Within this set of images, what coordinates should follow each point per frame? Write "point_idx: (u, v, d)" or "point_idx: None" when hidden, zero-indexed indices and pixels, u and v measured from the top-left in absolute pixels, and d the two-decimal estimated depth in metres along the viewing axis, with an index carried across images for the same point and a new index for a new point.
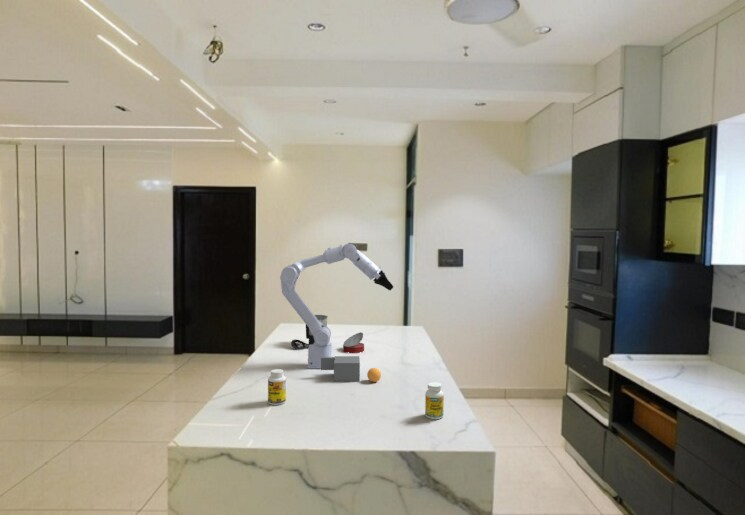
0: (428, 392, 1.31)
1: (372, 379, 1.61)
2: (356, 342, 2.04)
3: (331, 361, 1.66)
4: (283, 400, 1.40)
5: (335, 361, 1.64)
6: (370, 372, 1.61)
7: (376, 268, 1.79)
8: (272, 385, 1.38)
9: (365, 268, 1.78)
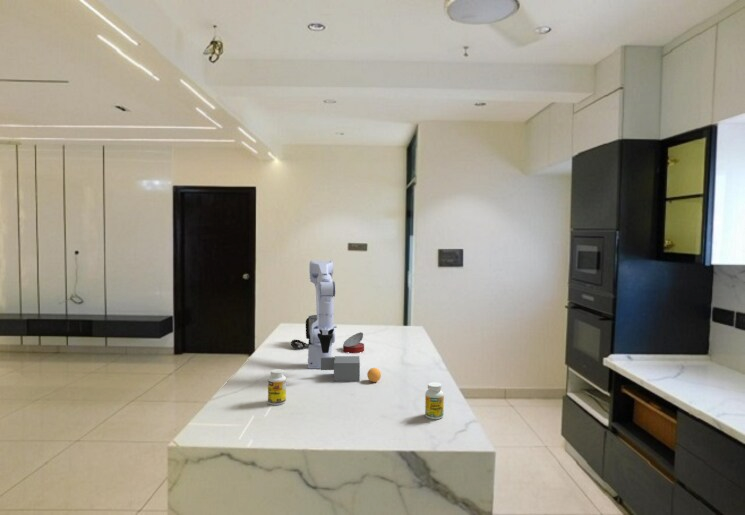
0: (428, 392, 1.31)
1: (372, 379, 1.61)
2: (356, 342, 2.04)
3: (331, 361, 1.66)
4: (283, 400, 1.40)
5: (335, 361, 1.64)
6: (370, 372, 1.61)
7: (331, 324, 1.64)
8: (272, 385, 1.38)
9: (323, 316, 1.63)
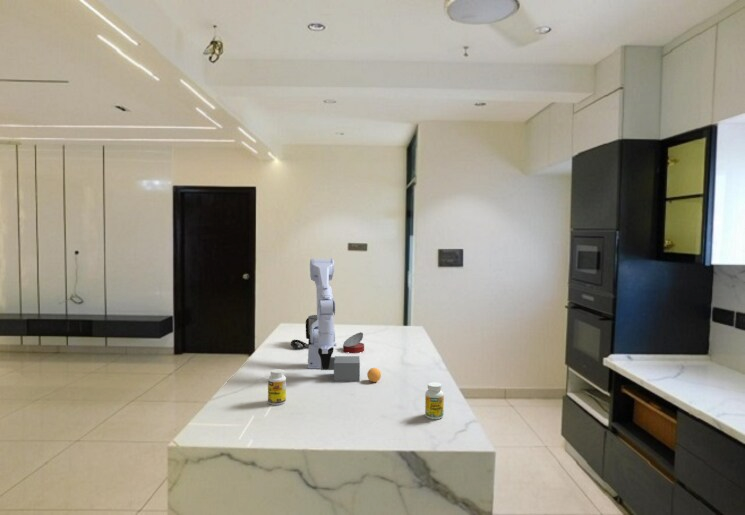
0: (428, 392, 1.31)
1: (372, 379, 1.61)
2: (356, 342, 2.04)
3: (331, 361, 1.66)
4: (283, 400, 1.40)
5: (335, 361, 1.64)
6: (370, 372, 1.61)
7: (331, 343, 1.65)
8: (272, 385, 1.38)
9: (323, 334, 1.64)
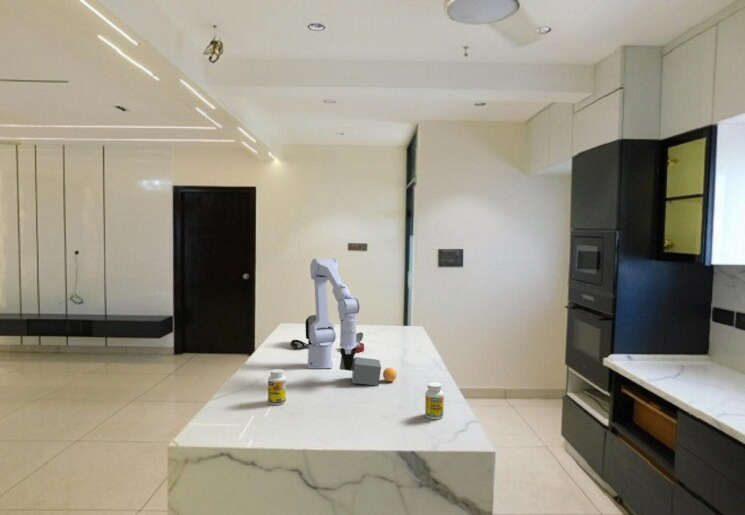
0: (428, 392, 1.31)
1: (389, 372, 1.61)
2: (356, 342, 2.04)
3: None
4: (283, 400, 1.40)
5: (356, 362, 1.60)
6: (395, 375, 1.62)
7: (353, 343, 1.60)
8: (272, 385, 1.38)
9: (345, 334, 1.59)
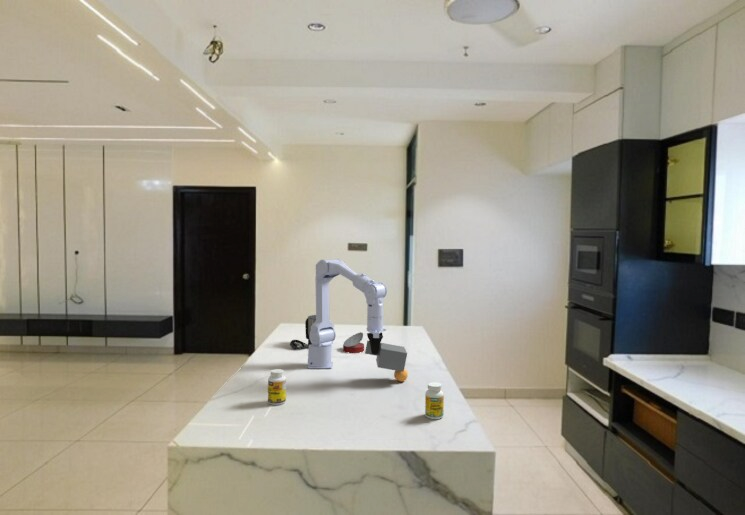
0: (428, 392, 1.31)
1: (405, 375, 1.62)
2: (356, 342, 2.04)
3: None
4: (283, 400, 1.40)
5: (382, 347, 1.60)
6: (401, 381, 1.62)
7: (380, 327, 1.60)
8: (272, 385, 1.38)
9: (373, 318, 1.59)
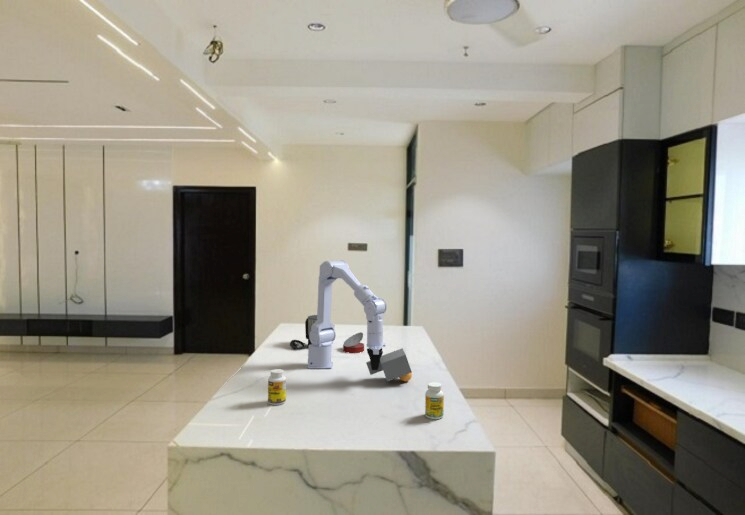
0: (428, 392, 1.31)
1: (408, 377, 1.62)
2: (356, 342, 2.04)
3: None
4: (283, 400, 1.40)
5: (381, 361, 1.60)
6: (402, 380, 1.62)
7: (380, 343, 1.60)
8: (272, 385, 1.38)
9: (372, 334, 1.59)
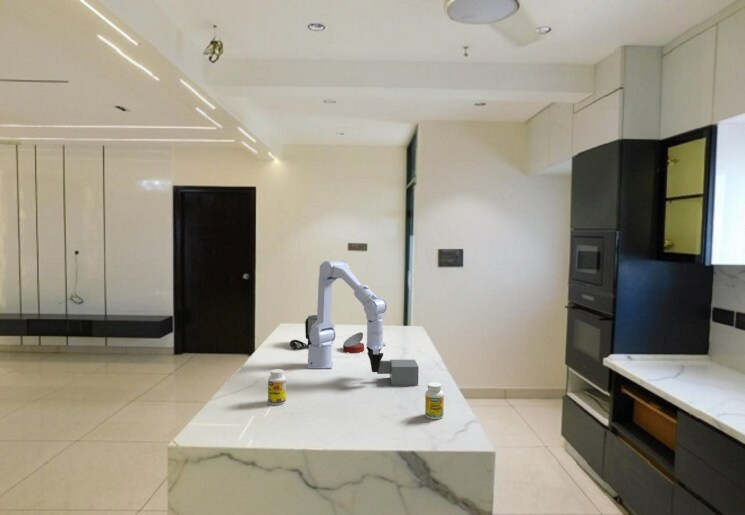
0: (428, 392, 1.31)
1: None
2: (356, 342, 2.04)
3: (388, 365, 1.62)
4: (283, 400, 1.40)
5: (393, 365, 1.60)
6: None
7: (380, 343, 1.60)
8: (272, 385, 1.38)
9: (372, 334, 1.59)
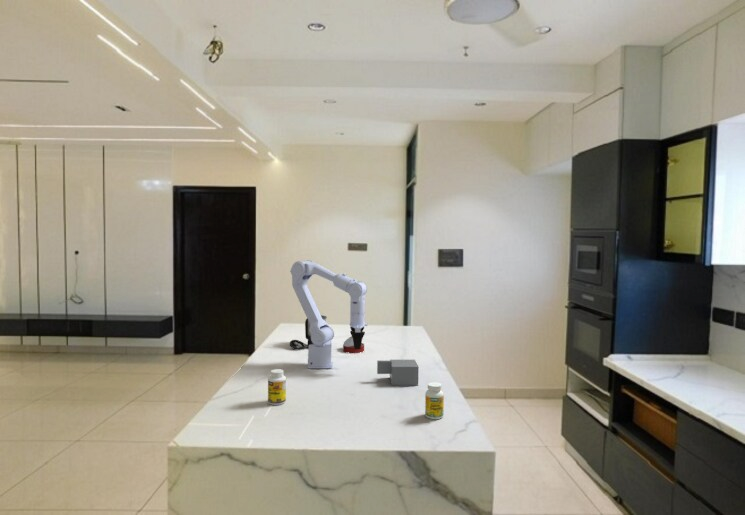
0: (428, 392, 1.31)
1: None
2: None
3: (388, 365, 1.62)
4: (283, 400, 1.40)
5: (393, 365, 1.60)
6: None
7: (362, 323, 1.74)
8: (272, 385, 1.38)
9: (355, 314, 1.73)
